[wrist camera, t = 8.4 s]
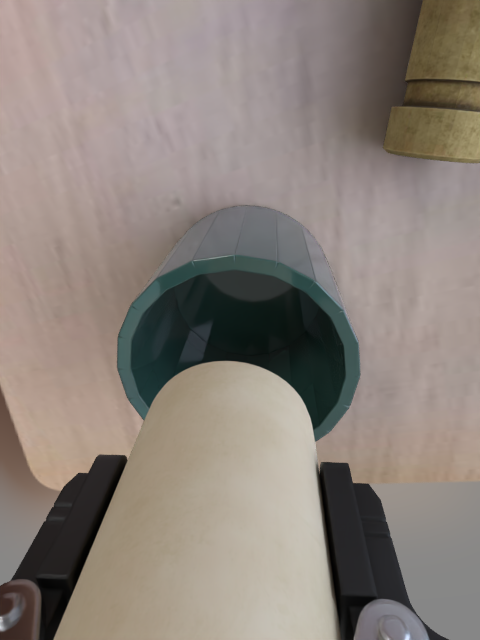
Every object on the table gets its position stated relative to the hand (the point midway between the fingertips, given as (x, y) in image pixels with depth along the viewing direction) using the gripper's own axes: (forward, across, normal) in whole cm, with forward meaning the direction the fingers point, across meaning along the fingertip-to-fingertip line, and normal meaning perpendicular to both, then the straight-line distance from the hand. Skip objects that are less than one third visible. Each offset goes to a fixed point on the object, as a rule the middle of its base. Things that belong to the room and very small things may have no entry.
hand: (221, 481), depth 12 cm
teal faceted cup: (+15, 0, +2) cm, 15 cm away
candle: (+2, 0, 0) cm, 2 cm away
